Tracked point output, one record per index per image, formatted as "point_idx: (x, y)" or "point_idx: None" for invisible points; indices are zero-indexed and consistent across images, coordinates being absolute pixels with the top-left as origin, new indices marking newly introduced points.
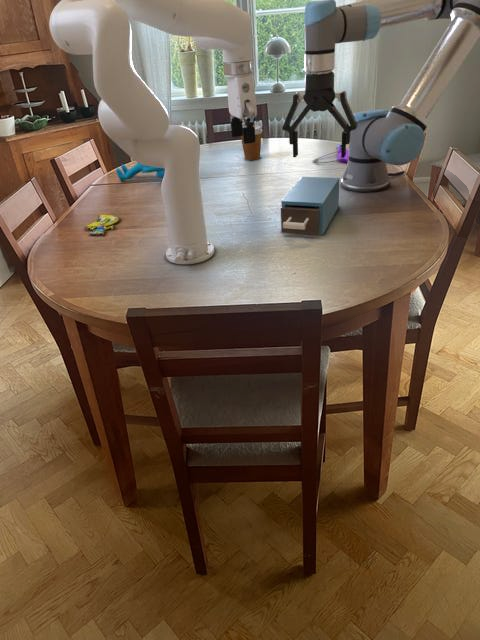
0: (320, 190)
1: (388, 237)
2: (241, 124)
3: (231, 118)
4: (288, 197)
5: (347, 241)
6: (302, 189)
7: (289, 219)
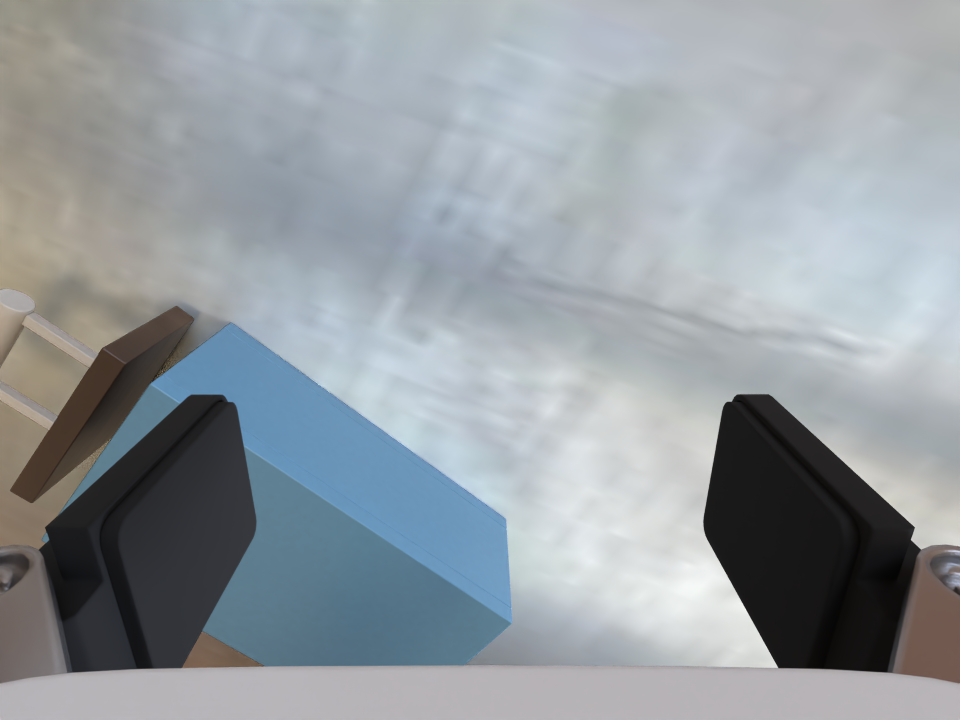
0: (239, 603)
1: None
2: (770, 642)
3: (945, 601)
4: None
5: (50, 497)
6: (295, 545)
7: (66, 351)
